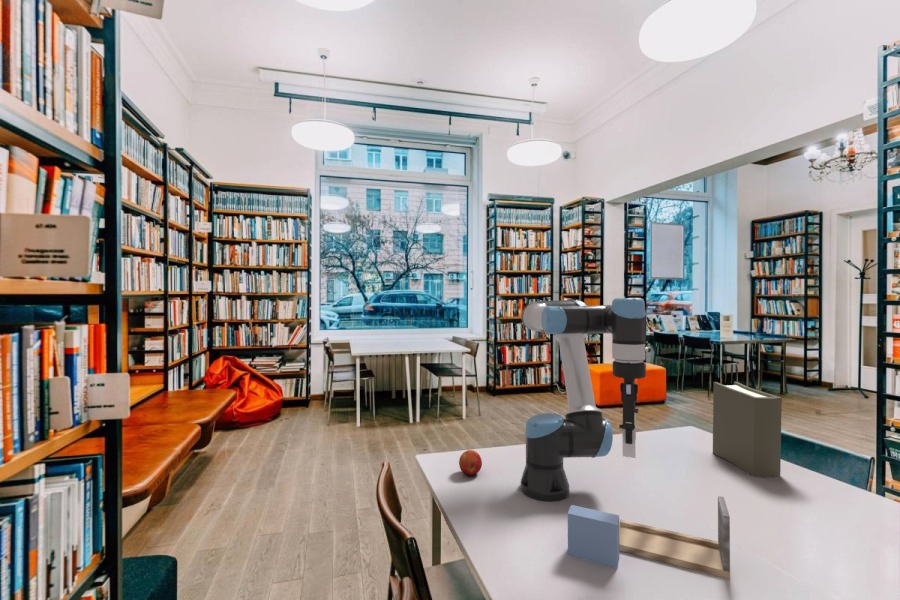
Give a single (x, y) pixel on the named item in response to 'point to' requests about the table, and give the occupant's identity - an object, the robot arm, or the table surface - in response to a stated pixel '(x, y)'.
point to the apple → (470, 462)
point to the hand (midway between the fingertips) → (629, 447)
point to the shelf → (681, 545)
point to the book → (747, 428)
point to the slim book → (593, 535)
